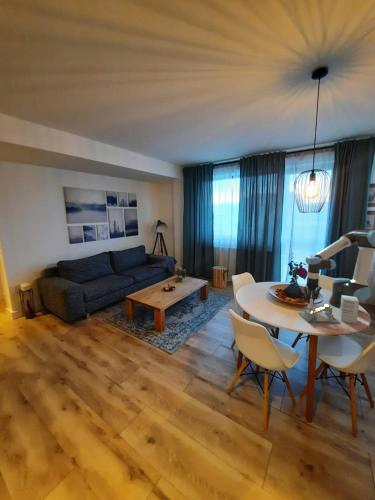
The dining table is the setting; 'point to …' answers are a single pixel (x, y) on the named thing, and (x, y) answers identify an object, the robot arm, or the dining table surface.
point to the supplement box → (349, 309)
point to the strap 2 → (320, 309)
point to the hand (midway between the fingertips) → (310, 307)
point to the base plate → (318, 316)
